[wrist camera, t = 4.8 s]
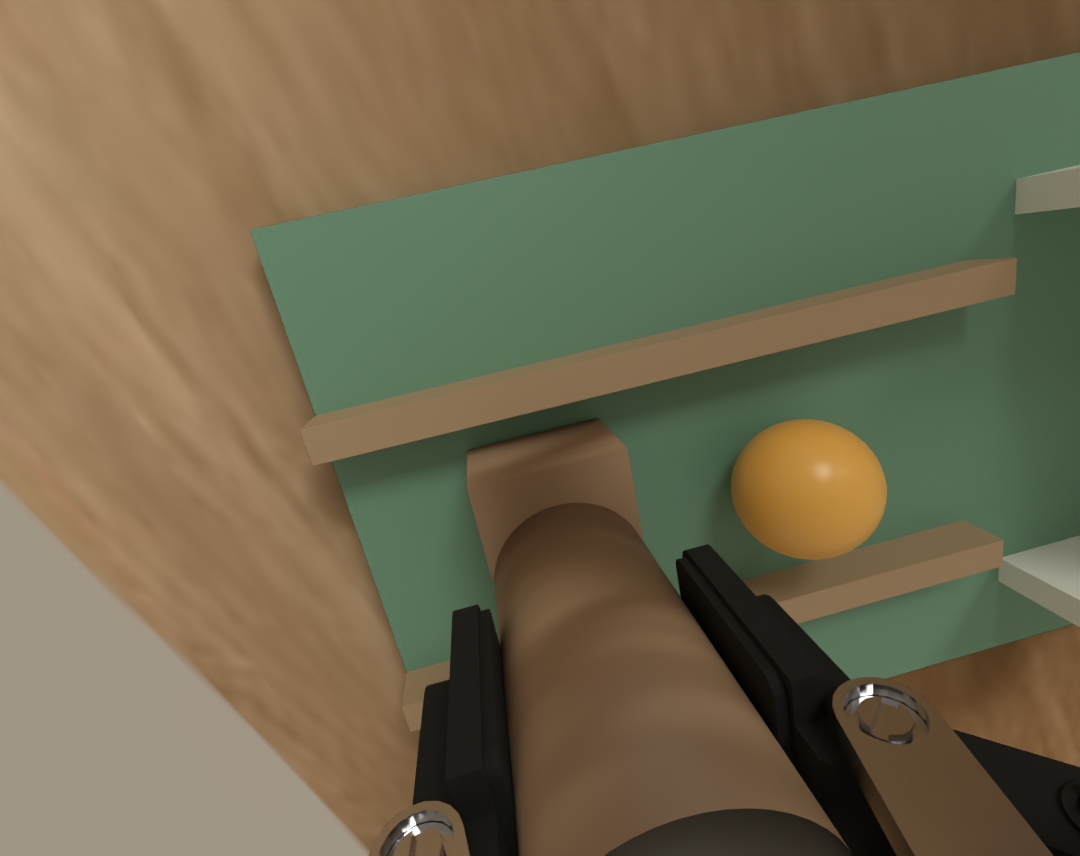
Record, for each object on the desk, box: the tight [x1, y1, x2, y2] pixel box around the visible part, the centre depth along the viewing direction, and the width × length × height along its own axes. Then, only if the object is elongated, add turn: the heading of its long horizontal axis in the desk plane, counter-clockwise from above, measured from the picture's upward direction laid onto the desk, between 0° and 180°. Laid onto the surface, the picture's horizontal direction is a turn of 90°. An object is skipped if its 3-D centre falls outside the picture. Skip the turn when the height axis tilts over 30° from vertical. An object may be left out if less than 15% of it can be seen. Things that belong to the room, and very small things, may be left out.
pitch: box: [250, 52, 1080, 732], centre depth 17 cm, size 28×20×2 cm
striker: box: [467, 418, 854, 856], centre depth 11 cm, size 4×6×12 cm, turn 12°
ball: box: [731, 419, 887, 560], centre depth 15 cm, size 4×4×4 cm
